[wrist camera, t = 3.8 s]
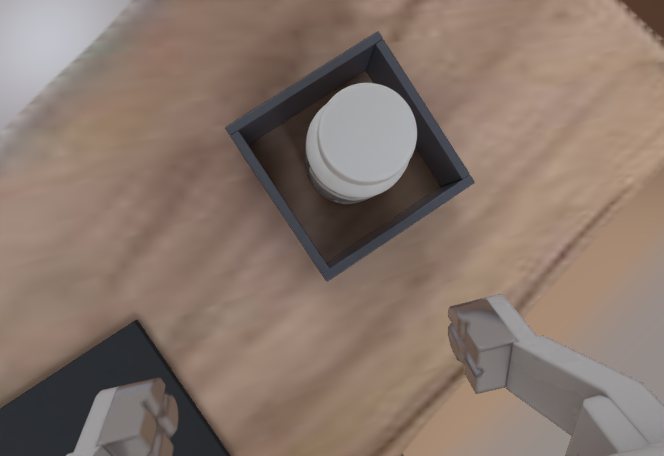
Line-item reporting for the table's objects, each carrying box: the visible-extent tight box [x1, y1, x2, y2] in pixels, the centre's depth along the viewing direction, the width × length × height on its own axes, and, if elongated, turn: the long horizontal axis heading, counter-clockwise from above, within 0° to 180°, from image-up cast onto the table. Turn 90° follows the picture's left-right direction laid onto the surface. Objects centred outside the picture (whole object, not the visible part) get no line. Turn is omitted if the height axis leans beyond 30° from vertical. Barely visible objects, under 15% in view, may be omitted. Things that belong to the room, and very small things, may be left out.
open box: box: [225, 31, 475, 281], centre depth 26 cm, size 11×11×4 cm
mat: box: [0, 320, 230, 456], centre depth 26 cm, size 12×12×1 cm
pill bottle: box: [305, 83, 417, 204], centre depth 23 cm, size 6×6×10 cm
